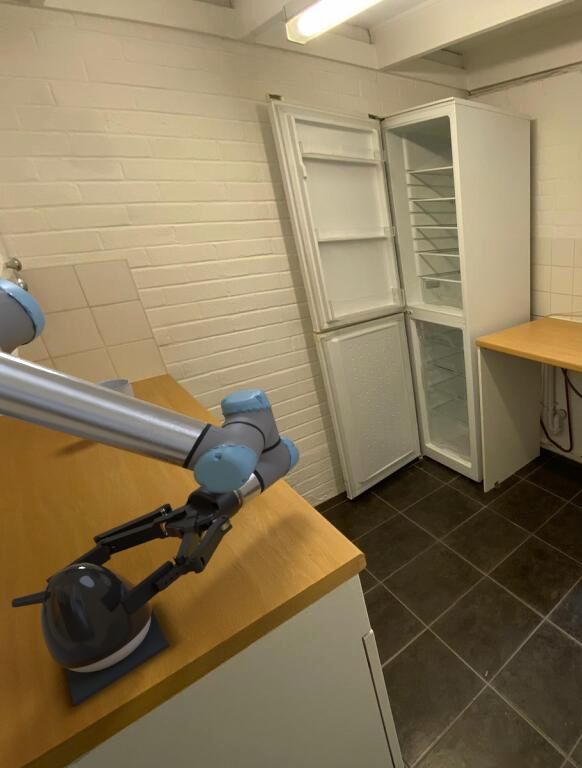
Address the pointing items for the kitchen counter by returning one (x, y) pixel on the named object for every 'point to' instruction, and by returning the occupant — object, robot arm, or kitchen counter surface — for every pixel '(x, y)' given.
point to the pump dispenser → (88, 617)
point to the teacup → (118, 386)
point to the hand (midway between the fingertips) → (87, 597)
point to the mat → (117, 666)
